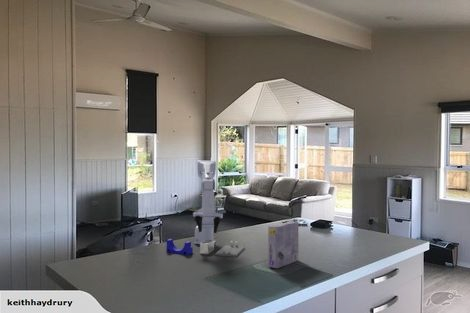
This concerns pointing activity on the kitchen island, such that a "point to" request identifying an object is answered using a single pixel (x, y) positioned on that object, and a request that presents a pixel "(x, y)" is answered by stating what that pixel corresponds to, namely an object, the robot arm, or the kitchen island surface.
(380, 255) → the kitchen island surface
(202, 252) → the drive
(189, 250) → the cable clip
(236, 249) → the pin tray
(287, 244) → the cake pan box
